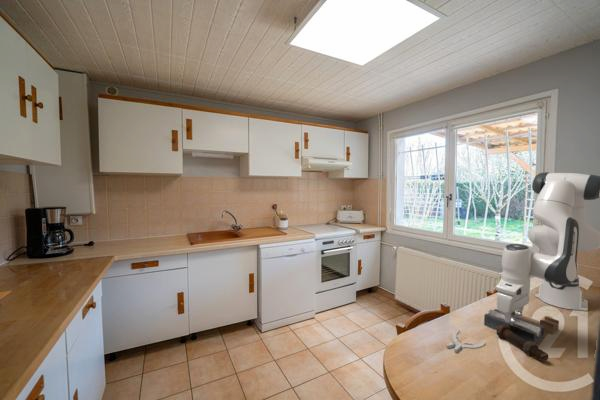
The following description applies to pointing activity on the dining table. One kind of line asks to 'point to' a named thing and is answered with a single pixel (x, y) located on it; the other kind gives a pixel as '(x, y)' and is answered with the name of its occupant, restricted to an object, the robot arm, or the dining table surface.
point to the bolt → (521, 342)
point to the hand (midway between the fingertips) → (513, 318)
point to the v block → (515, 327)
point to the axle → (517, 322)
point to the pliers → (458, 345)
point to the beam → (543, 323)
